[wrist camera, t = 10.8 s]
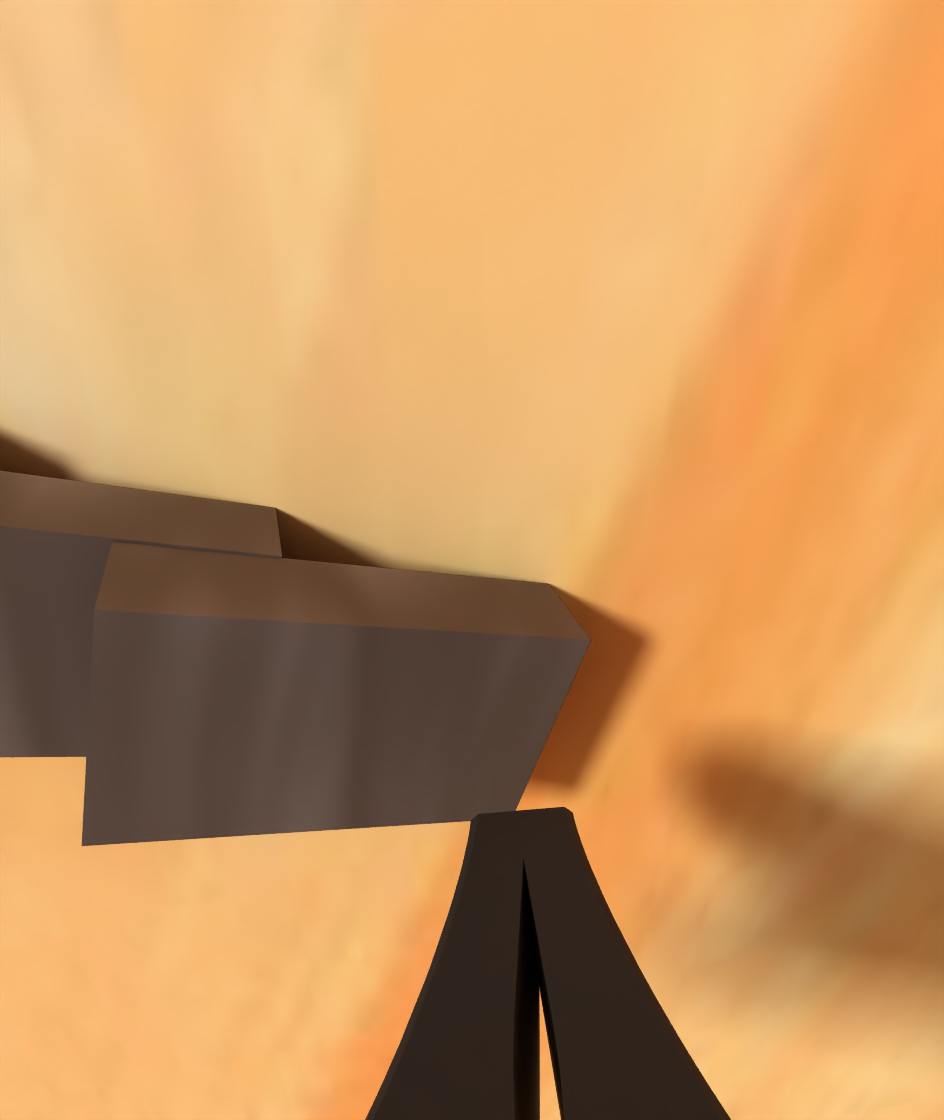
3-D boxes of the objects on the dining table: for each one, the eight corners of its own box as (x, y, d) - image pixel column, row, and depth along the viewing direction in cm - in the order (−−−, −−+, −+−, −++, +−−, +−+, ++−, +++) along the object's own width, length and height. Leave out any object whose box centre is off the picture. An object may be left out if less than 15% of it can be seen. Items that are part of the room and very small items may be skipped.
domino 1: (281, 556, 11) (-368, 486, 8) (243, 756, 13) (-295, 759, 10) (275, 507, 12) (-276, 433, 9) (241, 692, 14) (-226, 679, 11)
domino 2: (590, 639, 12) (94, 609, 8) (512, 818, 13) (81, 845, 10) (549, 583, 13) (112, 541, 10) (483, 752, 15) (98, 759, 12)
